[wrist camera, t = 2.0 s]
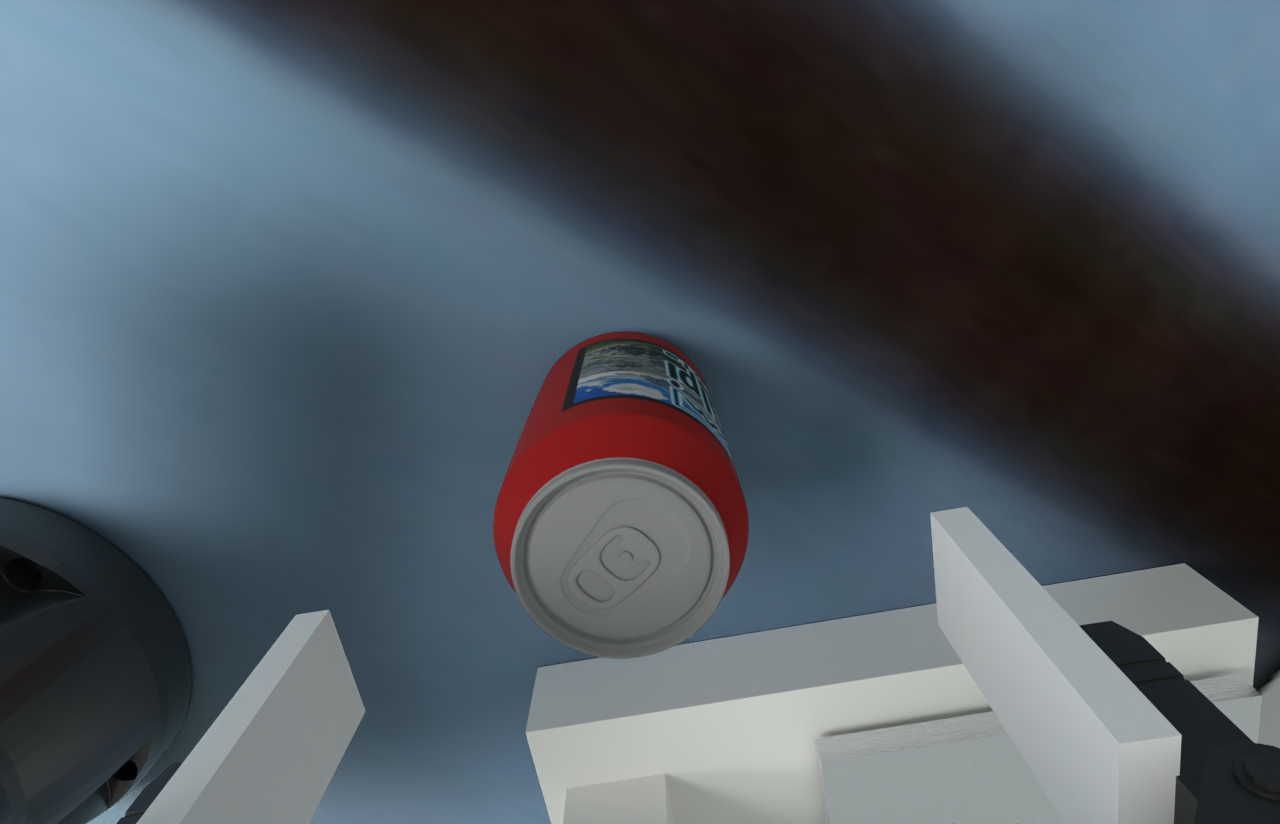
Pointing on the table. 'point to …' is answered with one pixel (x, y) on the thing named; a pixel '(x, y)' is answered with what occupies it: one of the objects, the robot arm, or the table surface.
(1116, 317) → the table surface
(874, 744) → the weighing pan
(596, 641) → the beverage can
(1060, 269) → the table surface
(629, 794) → the scale
